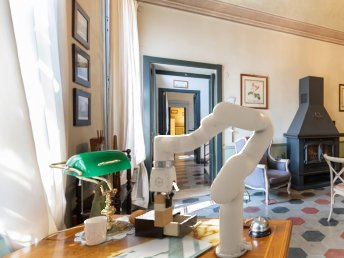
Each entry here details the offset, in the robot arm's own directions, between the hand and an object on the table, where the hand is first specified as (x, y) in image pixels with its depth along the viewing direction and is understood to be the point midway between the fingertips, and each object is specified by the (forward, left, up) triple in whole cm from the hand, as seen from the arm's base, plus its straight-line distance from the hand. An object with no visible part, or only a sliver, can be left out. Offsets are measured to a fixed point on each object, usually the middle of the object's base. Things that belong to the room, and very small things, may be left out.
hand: (163, 206), depth 100 cm
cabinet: (+13, -12, -17) cm, 24 cm away
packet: (0, 0, -7) cm, 7 cm away
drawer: (0, -11, -16) cm, 20 cm away
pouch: (+42, -7, -17) cm, 46 cm away
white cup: (+32, +3, -17) cm, 36 cm away
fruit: (+30, -17, -17) cm, 38 cm away
